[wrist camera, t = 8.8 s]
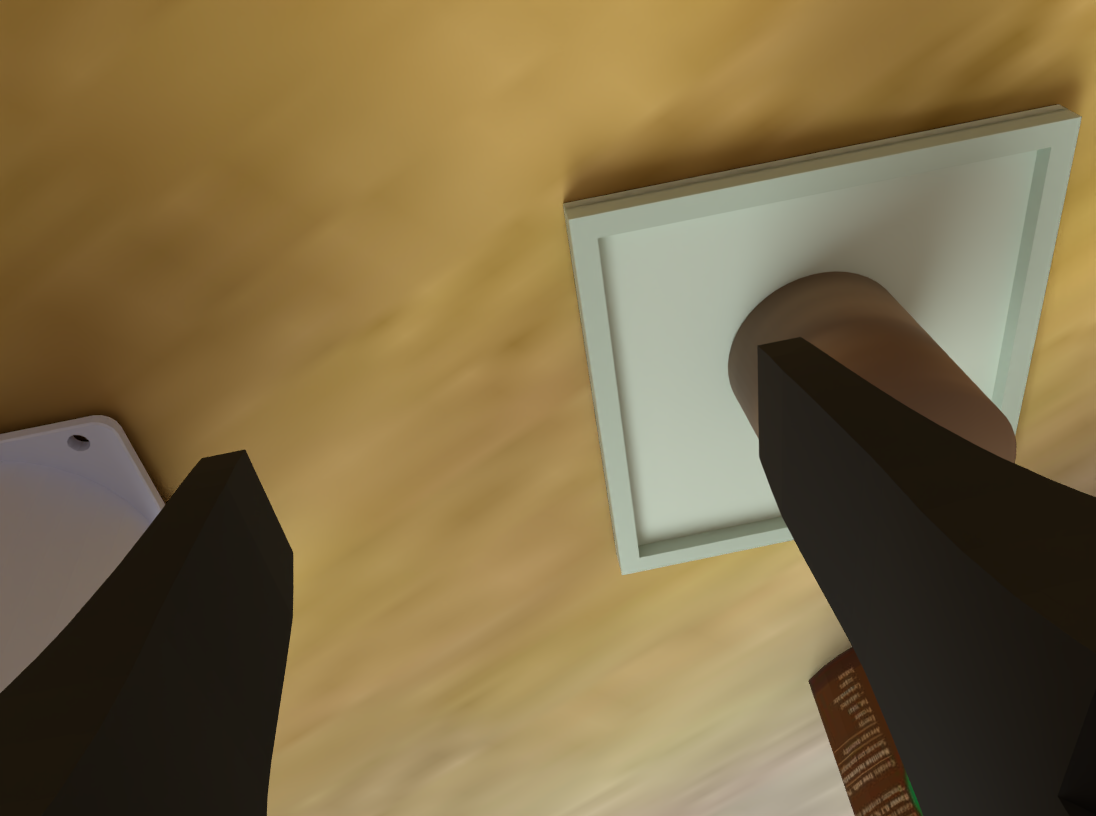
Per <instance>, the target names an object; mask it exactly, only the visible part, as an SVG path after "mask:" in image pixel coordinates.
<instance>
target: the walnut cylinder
mask: <svg viewBox="0 0 1096 816" xmlns="http://www.w3.org/2000/svg"><path fill="white" fill-rule="evenodd" d="M797 337H802V338H803V339H805V340H806V341H808V342H810V343H811V344H813V345H814V346H816V347H817V348H819V349H820V350H822V351H823V352H825V353H826V354H828V355H829V356H831V357H832V358H834V359H835V360H836V361H838V362H839V363H841V364H842V365H844V366H845V367H847V368H848V369H850V370H851V371H853V372H854V373H856V374H857V375H859V376H860V377H862V378H863V379H865V380H867V381H868V382H870V383H871V384H873V385H874V386H876V387H877V388H879V389H880V390H882V391H884V392H885V393H887V394H888V395H890V396H891V397H893V398H895V399H896V400H898V401H899V402H901V403H903V404H904V405H906V406H908V407H909V408H911V409H913V410H914V411H916V412H918V413H919V414H921V415H923V416H924V417H926V418H928V419H930V420H931V421H933V422H935V423H937V424H938V425H940V426H942V427H944V428H946V429H947V430H949V431H951V432H953V433H955V434H957V435H959V436H960V437H962V438H964V439H966V440H968V441H970V442H972V443H973V444H975V445H977V446H979V447H981V448H983V449H985V450H987V451H989V452H991V453H993V454H995V455H997V456H999V457H1001V458H1003V459H1006V460H1008V461H1010V462H1012V463H1015V458H1016V439H1015V434H1014V431H1013V428H1012V425H1011V424H1010V422H1009V420H1008V419H1007V417H1006V416H1005V415H1004V414H1003V413H1002V412H1001V411H1000V410H999V408H998V407H997V406H996V405H995V404H994V403H993V402H992V401H991V400H990V399H989V398H988V397H987V396H986V395H985V394H984V393H983V392H982V390H981V389H980V388H979V387H978V386H977V385H976V384H975V383H974V382H973V381H972V380H971V379H970V378H969V377H968V376H967V375H966V374H965V372H964V371H963V370H962V369H961V368H960V367H959V366H958V365H957V364H956V363H955V362H954V361H953V360H952V359H951V358H950V357H949V355H948V354H947V353H946V352H945V351H944V350H943V349H942V348H941V347H940V346H939V345H938V344H937V343H936V342H935V341H934V340H933V339H932V337H931V336H930V335H929V334H928V333H927V332H926V331H925V330H924V329H923V328H922V327H921V326H920V325H919V324H918V323H917V322H916V321H915V319H914V318H913V317H912V316H911V315H910V314H909V313H908V312H907V311H906V310H905V309H904V308H903V307H902V306H901V305H900V304H899V302H898V301H897V300H896V299H895V298H894V297H893V296H892V295H891V294H890V293H889V292H888V291H887V290H886V289H885V288H884V287H883V286H882V285H880V284H879V283H878V282H876V281H874V280H872V279H870V278H868V277H866V276H863V275H860V274H856V273H850V272H838V271H834V272H823V273H818V274H813V275H809V276H806V277H803V278H800V279H797V280H795V281H793V282H790V283H788V284H786V285H785V286H783V287H781V288H779V289H778V290H776V291H775V292H773V293H772V294H770V295H769V296H768V297H766V298H765V299H764V300H763V301H762V302H761V303H759V304H758V305H757V306H756V307H755V308H754V309H753V311H752V312H751V313H750V314H749V315H748V316H747V318H746V319H745V320H744V322H743V323H742V325H741V326H740V328H739V330H738V332H737V334H736V336H735V338H734V340H733V343H732V345H731V349H730V353H729V359H728V377H729V382H730V385H731V388H732V391H733V393H734V395H735V397H736V399H737V400H738V402H739V404H740V406H741V408H742V410H743V411H744V413H745V415H746V417H747V419H748V421H749V423H750V424H751V426H752V428H753V430H754V432H755V434H756V435H757V437H758V439H759V425H758V354H757V345H762V344H767V343H772V342H777V341H782V340H787V339H792V338H797Z"/></svg>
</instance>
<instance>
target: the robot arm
mask: <svg viewBox="0 0 1096 816" xmlns="http://www.w3.org/2000/svg"><path fill="white" fill-rule="evenodd" d="M757 354H758V425H759V459H760V461H761V464H762V467H763V469H764V472H765V475H766V477H767V480H768V483H769V486H770V488H771V491H772V493H773V496H774V498H775V501H776V503H777V506H778V508H779V511H780V514H781V516H782V518H783V520H784V522H785V524H786V526H787V528H788V529H789V531H790V533H791V535H792V537H793V539H794V541H795V542H796V544H797V546H798V548H799V550H800V552H801V553H802V555H803V557H804V559H805V561H806V563H807V564H808V566H809V568H810V570H811V572H812V574H813V575H814V577H815V579H816V581H817V583H818V584H819V586H820V588H821V590H822V592H823V593H824V595H825V597H826V599H827V601H828V603H829V604H830V606H831V608H832V610H833V612H834V613H835V615H836V617H837V619H838V621H839V623H840V624H841V626H842V628H843V630H844V632H845V633H846V635H847V637H848V639H849V641H850V642H851V645H852V647H853V649H854V651H855V653H856V655H857V657H858V659H859V661H860V663H861V665H862V667H863V669H864V671H865V673H866V676H867V678H868V680H869V683H870V685H871V687H872V690H873V692H874V695H875V697H876V699H877V702H878V704H879V707H880V709H881V711H882V714H883V716H884V718H885V721H886V723H887V726H888V728H889V730H890V733H891V735H892V738H893V740H894V743H895V745H896V748H897V750H898V753H899V755H900V758H901V760H902V763H903V765H904V768H905V770H906V773H907V776H908V778H909V781H910V783H911V786H912V788H913V791H914V793H915V796H916V798H917V801H918V803H919V806H920V809H921V811H922V814H923V816H1096V497H1094V496H1091V495H1088V494H1085V493H1083V492H1080V491H1077V490H1075V489H1072V488H1070V487H1067V486H1065V485H1062V484H1060V483H1057V482H1055V481H1053V480H1050V479H1048V478H1046V477H1043V476H1041V475H1039V474H1037V473H1035V472H1032V471H1030V470H1028V469H1026V468H1023V467H1021V466H1019V465H1017V464H1015V463H1012V462H1010V461H1008V460H1006V459H1003V458H1001V457H999V456H997V455H995V454H993V453H991V452H989V451H987V450H985V449H983V448H981V447H979V446H977V445H975V444H973V443H972V442H970V441H968V440H966V439H964V438H962V437H960V436H959V435H957V434H955V433H953V432H951V431H949V430H947V429H946V428H944V427H942V426H940V425H938V424H937V423H935V422H933V421H931V420H930V419H928V418H926V417H924V416H923V415H921V414H919V413H918V412H916V411H914V410H913V409H911V408H909V407H908V406H906V405H904V404H903V403H901V402H899V401H898V400H896V399H895V398H893V397H891V396H890V395H888V394H887V393H885V392H884V391H882V390H880V389H879V388H877V387H876V386H874V385H873V384H871V383H870V382H868V381H867V380H865V379H863V378H862V377H860V376H859V375H857V374H856V373H854V372H853V371H851V370H850V369H848V368H847V367H845V366H844V365H842V364H841V363H839V362H838V361H836V360H835V359H834V358H832V357H831V356H829V355H828V354H826V353H825V352H823V351H822V350H820V349H819V348H817V347H816V346H814V345H813V344H811V343H810V342H808V341H806V340H805V339H803V338H802V337H797V338H792V339H787V340H782V341H777V342H772V343H767V344H762V345H757ZM73 435H81V436H84V437H86V438H87V439H88V440H89V441H88V442H82V441H79V440H77V439H76V438H75V437H74V436H73ZM292 619H293V551H292V549H291V547H290V545H289V543H288V540H287V538H286V536H285V534H284V532H283V530H282V528H281V525H280V523H279V521H278V519H277V517H276V515H275V513H274V510H273V508H272V506H271V504H270V502H269V500H268V498H267V495H266V493H265V491H264V489H263V487H262V485H261V482H260V480H259V478H258V476H257V474H256V472H255V470H254V467H253V465H252V463H251V461H250V459H249V457H248V455H247V452H246V450H240V451H236V452H231V453H226V454H221V455H216V456H211V457H206V458H202V459H201V460H200V461H199V462H198V463H197V465H196V466H195V467H194V468H193V469H192V471H191V472H190V473H189V474H188V476H187V477H186V478H185V480H184V481H183V482H182V483H181V485H180V486H179V487H178V489H177V490H176V491H175V493H174V494H173V495H172V497H171V498H170V499H169V501H168V502H167V503H166V505H165V503H164V502H163V500H162V498H161V496H160V495H159V493H158V491H157V489H156V487H155V486H154V484H153V482H152V480H151V479H150V477H149V475H148V473H147V471H146V470H145V468H144V466H143V464H142V463H141V461H140V459H139V457H138V455H137V454H136V452H135V450H134V448H133V447H132V445H131V443H130V441H129V439H128V438H127V436H126V434H125V432H124V431H123V429H122V427H121V426H120V425H119V423H118V422H117V421H115V420H114V419H112V418H110V417H107V416H103V415H93V416H88V417H83V418H78V419H73V420H68V421H63V422H58V423H53V424H48V425H43V426H38V427H33V428H28V429H23V430H18V431H13V432H9V433H4V434H0V816H267V796H268V786H269V777H270V768H271V760H272V753H273V747H274V740H275V734H276V727H277V720H278V714H279V707H280V701H281V694H282V688H283V681H284V675H285V668H286V661H287V654H288V648H289V641H290V634H291V626H292Z"/></svg>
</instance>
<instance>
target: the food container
mask: <svg viewBox="0 0 1096 816" xmlns="http://www.w3.org/2000/svg"><path fill="white" fill-rule="evenodd" d="M809 684H810V687H811V690H812V693H813V696H814V699H815V701H816V704H817V707H818V710H819V713H820V716H821V719H822V722H823V725H824V728H825V731H826V733H827V736H828V739H829V742H830V745H831V748H832V751H833V754H834V757H835V760H836V763H837V765H838V768H839V771H840V774H841V777H842V780H843V783H844V786H845V789H846V792H847V795H848V797H849V800H850V803H851V806H852V809H853V812H854V815H855V816H923V814H922V811H921V809H920V806H919V803H918V801H917V798H916V796H915V793H914V791H913V788H912V786H911V783H910V781H909V778H908V776H907V773H906V770H905V768H904V765H903V763H902V760H901V758H900V755H899V753H898V750H897V748H896V745H895V743H894V740H893V738H892V735H891V733H890V730H889V728H888V726H887V723H886V721H885V718H884V716H883V714H882V711H881V709H880V707H879V704H878V702H877V699H876V697H875V695H874V692H873V690H872V687H871V685H870V683H869V680H868V678H867V676H866V673H865V671H864V669H863V667H862V665H861V663H860V661H859V659H858V657H857V655H856V653H855V651H854V649H853V647H852V648H850V649H849V650H847V651H845V652H844V653H842V654H840V655H839V656H837V657H836V658H835V659H833V660H832V661H831V662H829V663H828V664H827V665H825V666H824V667H823V668H822V669H821V670H820V671H819V672H818V673H816V674H815V675H814V676H813V677H812V678H811V679H810V680H809Z"/></svg>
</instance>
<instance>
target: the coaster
mask: <svg viewBox="0 0 1096 816" xmlns="http://www.w3.org/2000/svg"><path fill="white" fill-rule="evenodd" d="M1081 118H1082V117H1081V116H1079V115H1078V114H1076V113H1074V112H1072V111H1070V110H1068V109H1067V108H1065V107H1063V106H1061V105H1059V104H1058V105H1053V106H1048V107H1043V108H1038V109H1033V110H1028V111H1023V112H1018V113H1013V114H1008V115H1003V116H998V117H993V118H988V119H983V120H978V121H973V122H968V123H963V124H958V125H953V126H948V127H943V128H938V129H933V130H928V131H923V132H918V133H913V134H908V135H903V136H898V137H893V138H888V139H883V140H878V141H873V142H868V143H863V144H858V145H853V146H848V147H843V148H838V149H833V150H828V151H823V152H818V153H813V154H808V155H803V156H798V157H793V158H788V159H783V160H778V161H773V162H768V163H763V164H758V165H753V166H748V167H743V168H738V169H733V170H728V171H723V172H718V173H713V174H708V175H703V176H698V177H693V178H688V179H683V180H678V181H673V182H668V183H663V184H658V185H653V186H648V187H643V188H638V189H633V190H628V191H623V192H618V193H613V194H608V195H603V196H598V197H593V198H588V199H583V200H578V201H573V202H568V203H563V208H564V215H565V221H566V228H567V234H568V241H569V247H570V254H571V260H572V267H573V273H574V280H575V286H576V293H577V299H578V306H579V312H580V319H581V325H582V332H583V339H584V345H585V352H586V358H587V365H588V371H589V378H590V384H591V391H592V397H593V404H594V410H595V417H596V423H597V430H598V436H599V443H600V449H601V456H602V462H603V469H604V476H605V482H606V489H607V495H608V502H609V508H610V515H611V521H612V528H613V534H614V541H615V547H616V554H617V558H618V561H619V565H620V569H621V573H622V575H626V574H631V573H635V572H640V571H645V570H650V569H655V568H660V567H664V566H669V565H674V564H679V563H684V562H689V561H694V560H698V559H703V558H708V557H713V556H718V555H723V554H727V553H732V552H737V551H742V550H747V549H752V548H757V547H761V546H766V545H771V544H776V543H781V542H786V541H790V540H794V539H793V537H792V535H791V533H790V531H789V529H788V528H787V526H786V524H785V522H784V520H783V518H782V516H781V514H780V511H779V508H778V506H777V503H776V501H775V498H774V496H773V493H772V491H771V488H770V486H769V483H768V480H767V477H766V475H765V472H764V469H763V467H762V464H761V461H760V459H759V439H758V437H757V435H756V434H755V432H754V430H753V428H752V426H751V424H750V423H749V421H748V419H747V417H746V415H745V413H744V411H743V410H742V408H741V406H740V404H739V402H738V400H737V399H736V397H735V395H734V393H733V391H732V388H731V385H730V382H729V377H728V359H729V353H730V349H731V345H732V343H733V340H734V338H735V336H736V334H737V332H738V330H739V328H740V326H741V325H742V323H743V322H744V320H745V319H746V318H747V316H748V315H749V314H750V313H751V312H752V311H753V309H754V308H755V307H756V306H757V305H758V304H759V303H761V302H762V301H763V300H764V299H765V298H766V297H768V296H769V295H770V294H772V293H773V292H775V291H776V290H778V289H779V288H781V287H783V286H785V285H786V284H788V283H790V282H793V281H795V280H797V279H800V278H803V277H806V276H809V275H813V274H818V273H823V272H834V271H838V272H850V273H856V274H860V275H863V276H866V277H868V278H870V279H872V280H874V281H876V282H878V283H879V284H880V285H882V286H883V287H884V288H885V289H886V290H887V291H888V292H889V293H890V294H891V295H892V296H893V297H894V298H895V299H896V300H897V301H898V302H899V304H900V305H901V306H902V307H903V308H904V309H905V310H906V311H907V312H908V313H909V314H910V315H911V316H912V317H913V318H914V319H915V321H916V322H917V323H918V324H919V325H920V326H921V327H922V328H923V329H924V330H925V331H926V332H927V333H928V334H929V335H930V336H931V337H932V339H933V340H934V341H935V342H936V343H937V344H938V345H939V346H940V347H941V348H942V349H943V350H944V351H945V352H946V353H947V354H948V355H949V357H950V358H951V359H952V360H953V361H954V362H955V363H956V364H957V365H958V366H959V367H960V368H961V369H962V370H963V371H964V372H965V374H966V375H967V376H968V377H969V378H970V379H971V380H972V381H973V382H974V383H975V384H976V385H977V386H978V387H979V388H980V389H981V390H982V392H983V393H984V394H985V395H986V396H987V397H988V398H989V399H990V400H991V401H992V402H993V403H994V404H995V405H996V406H997V407H998V408H999V410H1000V411H1001V412H1002V413H1003V414H1004V415H1005V416H1006V417H1007V419H1008V420H1009V422H1010V424H1011V425H1012V428H1013V431H1014V434H1016V430H1017V425H1018V420H1019V415H1020V410H1021V406H1022V401H1023V396H1024V391H1025V386H1026V382H1027V377H1028V372H1029V367H1030V362H1031V358H1032V353H1033V348H1034V343H1035V338H1036V334H1037V329H1038V324H1039V319H1040V315H1041V310H1042V305H1043V300H1044V295H1045V291H1046V286H1047V281H1048V276H1049V271H1050V267H1051V262H1052V257H1053V252H1054V247H1055V243H1056V238H1057V233H1058V228H1059V224H1060V219H1061V214H1062V209H1063V204H1064V200H1065V195H1066V190H1067V185H1068V180H1069V176H1070V171H1071V166H1072V161H1073V156H1074V152H1075V147H1076V142H1077V137H1078V133H1079V128H1080V123H1081Z"/></svg>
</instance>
